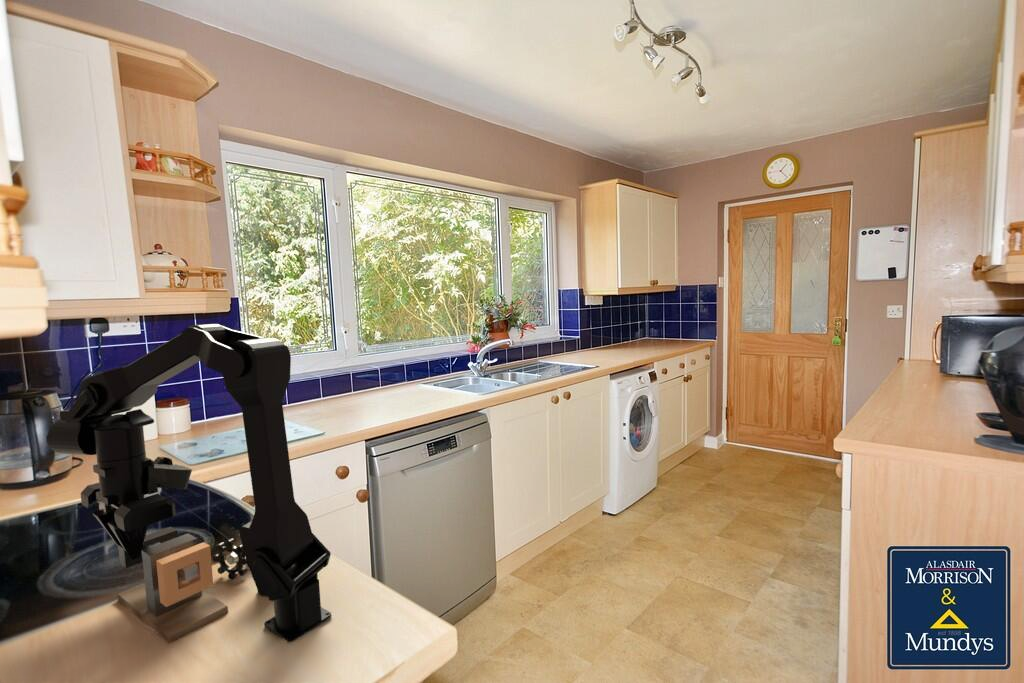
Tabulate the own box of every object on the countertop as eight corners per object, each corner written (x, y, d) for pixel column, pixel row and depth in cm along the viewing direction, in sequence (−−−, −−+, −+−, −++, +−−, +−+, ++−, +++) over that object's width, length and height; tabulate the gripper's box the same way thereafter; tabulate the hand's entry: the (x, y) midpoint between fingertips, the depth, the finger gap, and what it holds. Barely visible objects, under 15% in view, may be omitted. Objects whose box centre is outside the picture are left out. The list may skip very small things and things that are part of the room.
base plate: (228, 612, 72) (227, 605, 71) (168, 643, 65) (167, 636, 65) (174, 576, 82) (173, 570, 82) (118, 600, 75) (117, 593, 75)
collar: (213, 585, 72) (210, 545, 71) (166, 607, 67) (162, 564, 66) (206, 581, 73) (203, 542, 72) (160, 602, 68) (156, 560, 67)
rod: (219, 571, 71) (217, 551, 71) (163, 596, 66) (161, 574, 65) (172, 544, 80) (170, 526, 80) (119, 563, 74) (117, 544, 74)
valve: (263, 542, 93) (213, 578, 81) (261, 508, 92) (210, 539, 80) (295, 545, 91) (248, 581, 80) (292, 510, 91) (245, 542, 79)
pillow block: (202, 595, 74) (197, 538, 73) (156, 617, 69) (150, 556, 68) (193, 589, 76) (188, 533, 75) (147, 610, 71) (141, 550, 70)
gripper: (209, 450, 75) (217, 549, 76) (158, 434, 85) (166, 521, 87) (120, 472, 66) (131, 584, 67) (74, 452, 76) (85, 549, 77)
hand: (131, 556), depth 75 cm, fingers closed on rod, 2 cm apart
